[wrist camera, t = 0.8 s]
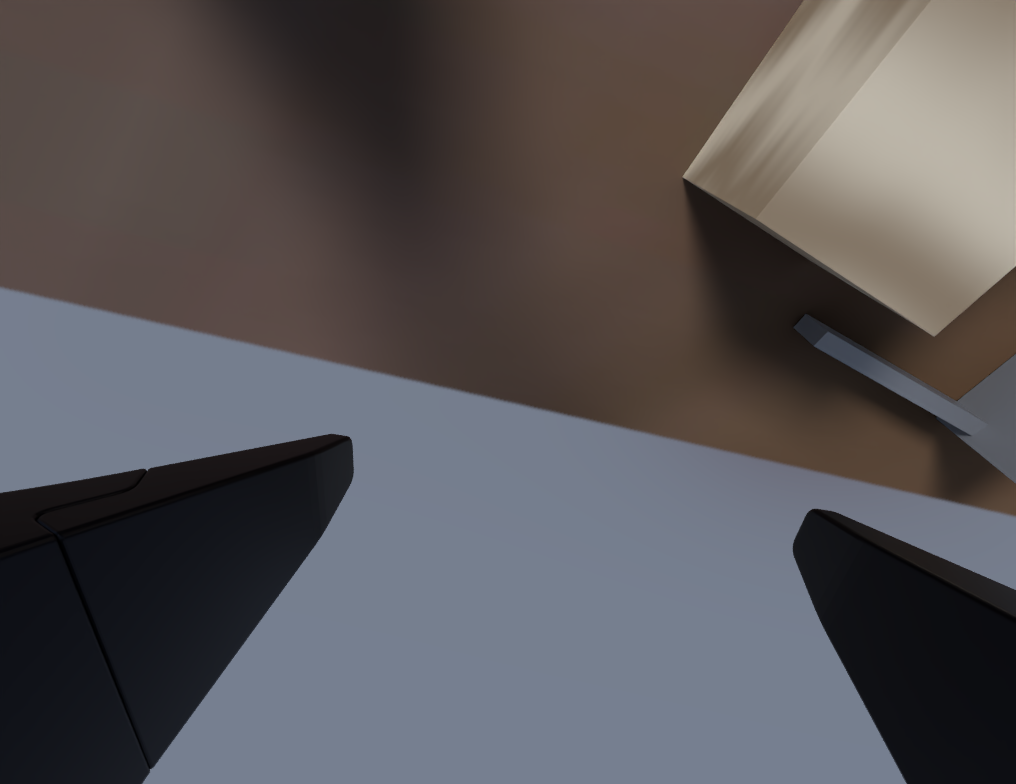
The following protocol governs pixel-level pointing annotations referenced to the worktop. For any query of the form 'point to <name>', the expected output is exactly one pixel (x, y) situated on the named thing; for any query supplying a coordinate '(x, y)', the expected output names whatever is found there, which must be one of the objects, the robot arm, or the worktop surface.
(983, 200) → the wide block
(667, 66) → the worktop surface
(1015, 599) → the robot arm
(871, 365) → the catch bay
